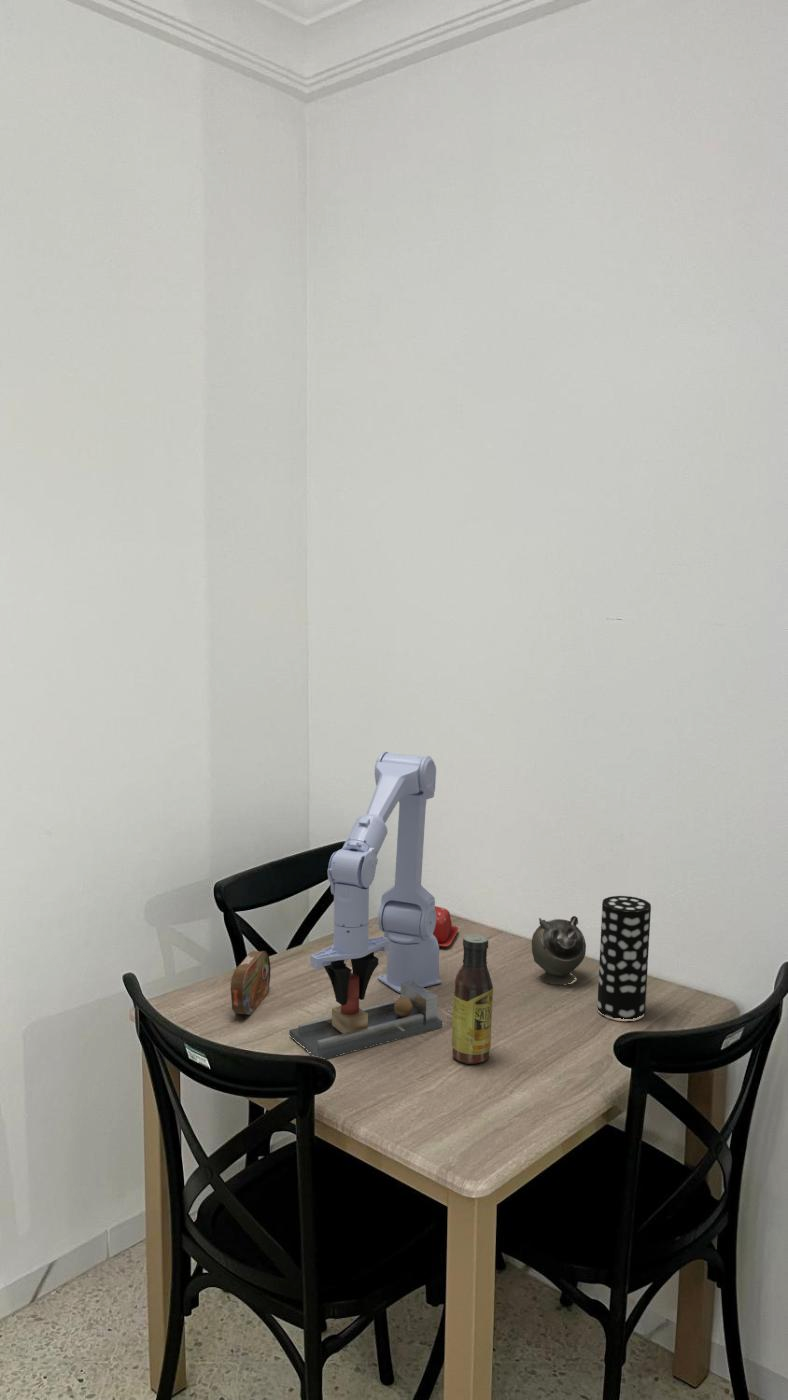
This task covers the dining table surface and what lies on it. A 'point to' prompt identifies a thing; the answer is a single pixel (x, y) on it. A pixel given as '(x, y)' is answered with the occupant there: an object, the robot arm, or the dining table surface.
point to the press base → (372, 1025)
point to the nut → (403, 1006)
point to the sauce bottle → (472, 1003)
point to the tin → (250, 982)
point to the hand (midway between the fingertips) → (350, 1000)
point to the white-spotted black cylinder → (623, 957)
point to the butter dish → (444, 927)
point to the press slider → (350, 1010)
